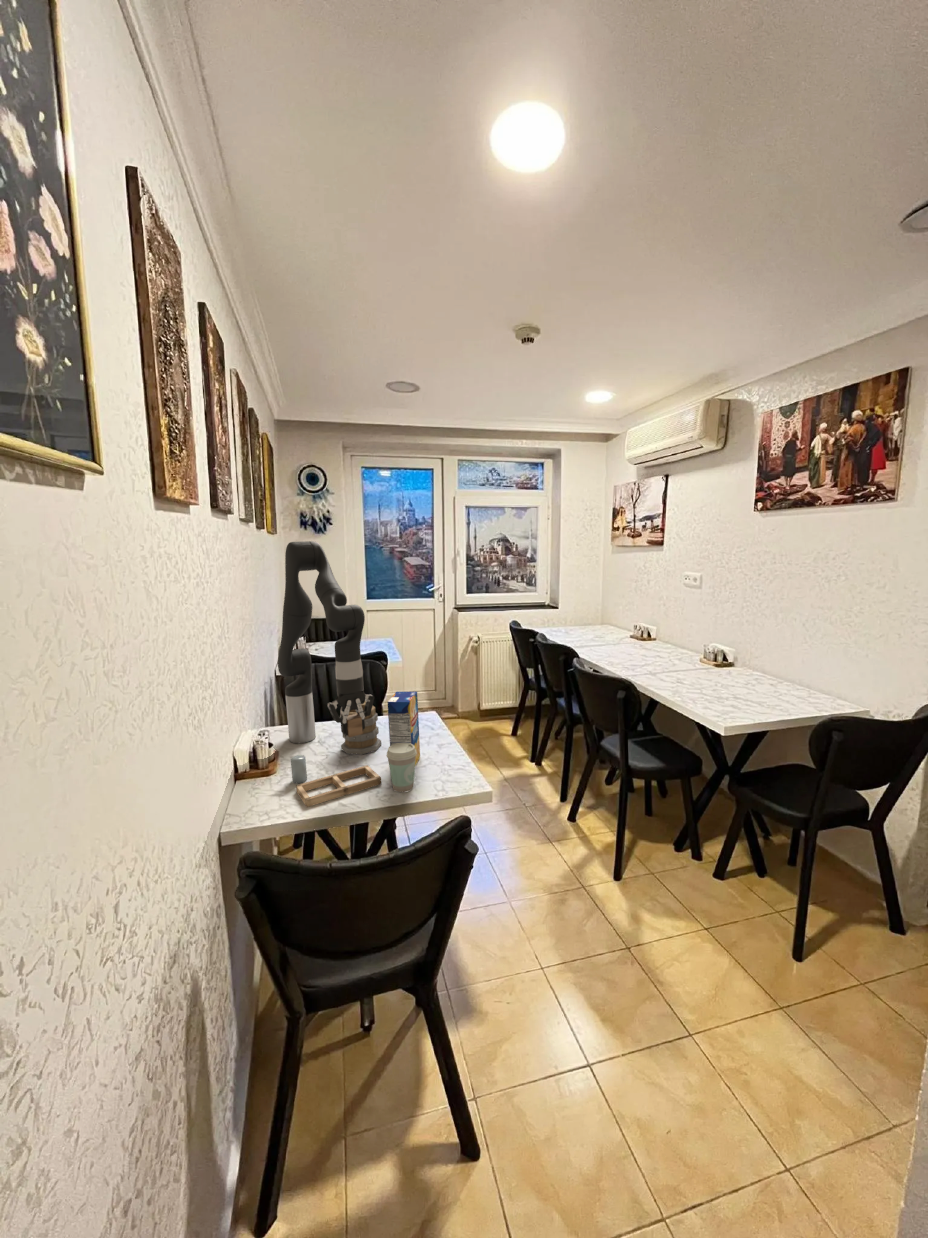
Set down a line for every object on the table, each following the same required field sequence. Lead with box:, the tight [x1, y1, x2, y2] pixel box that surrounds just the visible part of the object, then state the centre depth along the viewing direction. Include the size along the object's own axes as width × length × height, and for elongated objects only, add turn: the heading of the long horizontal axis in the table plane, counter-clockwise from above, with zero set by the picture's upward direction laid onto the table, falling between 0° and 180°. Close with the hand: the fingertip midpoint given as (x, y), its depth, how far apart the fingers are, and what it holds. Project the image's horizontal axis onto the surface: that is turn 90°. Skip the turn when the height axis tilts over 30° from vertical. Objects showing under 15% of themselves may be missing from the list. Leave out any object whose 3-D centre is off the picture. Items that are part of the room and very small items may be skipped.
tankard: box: [340, 700, 382, 756], centre depth 174 cm, size 20×13×15 cm, turn 171°
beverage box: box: [387, 691, 421, 767], centre depth 155 cm, size 7×11×22 cm, turn 173°
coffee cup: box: [386, 743, 417, 793], centre depth 140 cm, size 8×8×12 cm
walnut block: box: [346, 714, 363, 737], centre depth 142 cm, size 4×4×5 cm
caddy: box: [295, 765, 382, 808], centre depth 142 cm, size 10×22×2 cm, turn 124°
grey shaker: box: [290, 754, 308, 785], centre depth 147 cm, size 4×4×7 cm
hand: (353, 732), depth 143 cm, fingers closed on walnut block, 4 cm apart
